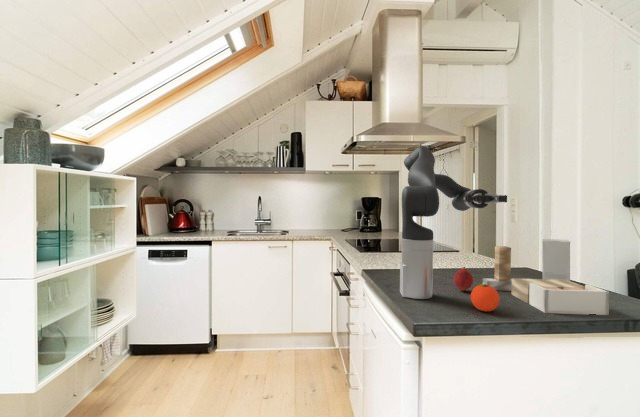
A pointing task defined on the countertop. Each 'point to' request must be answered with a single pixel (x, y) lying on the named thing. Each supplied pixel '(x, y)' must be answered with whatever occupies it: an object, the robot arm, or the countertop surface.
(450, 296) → the countertop surface
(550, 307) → the box
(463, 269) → the onion
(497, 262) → the scraper
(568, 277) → the skincare box
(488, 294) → the clementine
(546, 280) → the tan wooden block
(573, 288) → the tile right
